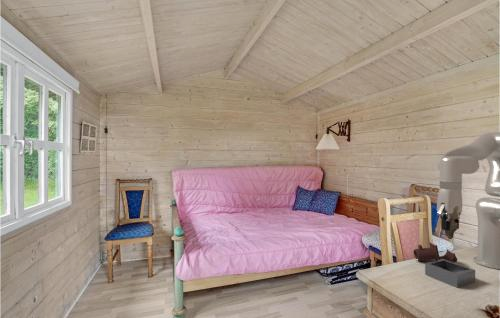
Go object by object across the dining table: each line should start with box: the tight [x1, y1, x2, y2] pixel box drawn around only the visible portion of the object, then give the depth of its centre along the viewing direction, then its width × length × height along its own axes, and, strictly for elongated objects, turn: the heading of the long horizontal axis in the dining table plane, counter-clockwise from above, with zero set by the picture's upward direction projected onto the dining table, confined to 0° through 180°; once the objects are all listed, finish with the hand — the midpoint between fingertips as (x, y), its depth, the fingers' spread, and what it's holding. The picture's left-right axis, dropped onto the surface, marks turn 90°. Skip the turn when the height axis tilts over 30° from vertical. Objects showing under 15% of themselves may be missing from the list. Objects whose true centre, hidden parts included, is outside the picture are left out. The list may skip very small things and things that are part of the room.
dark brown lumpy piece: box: [413, 240, 458, 263], centre depth 126 cm, size 6×17×10 cm, turn 78°
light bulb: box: [444, 206, 458, 240], centre depth 110 cm, size 6×6×15 cm
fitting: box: [424, 259, 476, 289], centre depth 110 cm, size 12×12×5 cm
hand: (450, 228), depth 110 cm, fingers closed on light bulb, 5 cm apart
